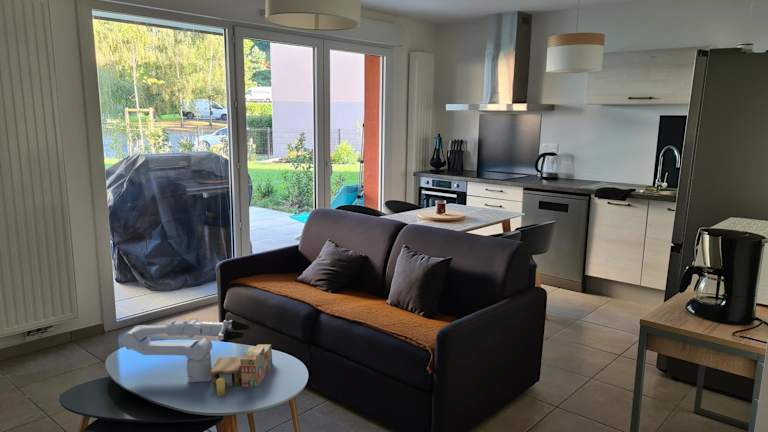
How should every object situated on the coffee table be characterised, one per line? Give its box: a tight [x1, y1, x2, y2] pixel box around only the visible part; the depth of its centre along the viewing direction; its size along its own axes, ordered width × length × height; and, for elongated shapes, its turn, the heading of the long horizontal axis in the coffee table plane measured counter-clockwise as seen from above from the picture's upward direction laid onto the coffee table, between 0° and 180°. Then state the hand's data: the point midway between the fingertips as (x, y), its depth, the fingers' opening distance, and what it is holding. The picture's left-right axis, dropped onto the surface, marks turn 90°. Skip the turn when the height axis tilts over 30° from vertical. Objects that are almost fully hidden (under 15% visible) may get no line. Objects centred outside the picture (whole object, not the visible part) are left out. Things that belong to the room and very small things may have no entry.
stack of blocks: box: [240, 343, 273, 388], centre depth 224 cm, size 21×6×12 cm, turn 175°
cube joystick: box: [216, 373, 235, 397], centre depth 214 cm, size 5×14×6 cm, turn 2°
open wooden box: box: [210, 356, 242, 388], centre depth 221 cm, size 11×13×7 cm
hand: (246, 330), depth 220 cm, fingers open, 7 cm apart
